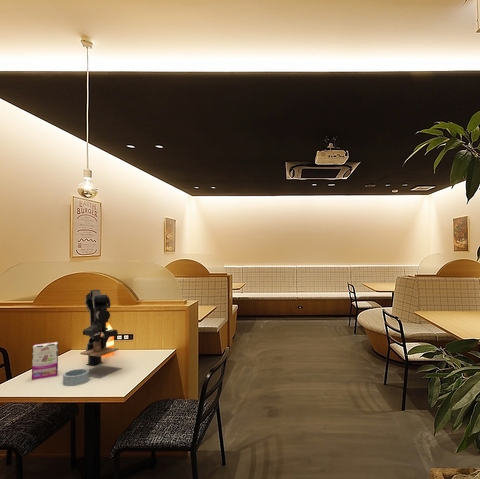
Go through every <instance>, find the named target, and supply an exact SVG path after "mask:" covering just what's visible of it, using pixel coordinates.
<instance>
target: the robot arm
mask: <svg viewBox="0 0 480 479" xmlns="http://www.w3.org/2000/svg"><path fill="white" fill-rule="evenodd" d="M84 305H86V307H85V308H86V309H87V311H88V312H89V326H88V327H86V328H84V329H83V331H82V335H83V336H86V337H89V340H88V341H87V344H86V348H85V351H87V350H90V349H93V342H95V341H98V340H101V349H104V347H105V345H106V343H107V341H108V339H109V337H113V336H114V337H115V336H118V335H119V334H118V330H117V329H113V328H112V329H111V330H108V328H106V323H109V319H110V318H111V313H110V311H109V310H108V309H111V306H112V304H111V300H110V296H109V295H108V294H106V293H104V294H103V293H102V292H101V290H100V289H91V290H89V292H88V294H86V295H85V299H84ZM106 330H107V331H106ZM102 332H103V333H102ZM101 334H102V336H101ZM87 356H88V357H87V364H85V366H92V367H97V366H99V365H101V364H104V362H103V361H102V357H98V356H90V355H87Z"/></svg>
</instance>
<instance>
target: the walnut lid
mask: <svg viewBox="0 0 480 479" xmlns="http://www.w3.org/2000/svg"><path fill="white" fill-rule="evenodd" d="M106 346H107V343H106V345H105V347H104V349H101V340H98V341H95V342H93V349H90V350H87V351H86V350H85V351H82V352H80V355H83V356H88V355H90V356H98V357H101V356H103V355H106V354H109V353H112V352H117V351H119V348H117V347H114V348H109V347H106ZM101 358H102V357H101Z"/></svg>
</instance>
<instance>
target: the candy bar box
mask: <svg viewBox="0 0 480 479" xmlns="http://www.w3.org/2000/svg"><path fill="white" fill-rule="evenodd" d="M31 349H32V351H31V356H32V357H31V360H32V361H31V381H34V380H39V379H44V378H45V379H47V378H53V377H58V373H59V342H58V341H54V342H46V343H39V344H33V346H32V348H31Z"/></svg>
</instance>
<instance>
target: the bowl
mask: <svg viewBox="0 0 480 479" xmlns="http://www.w3.org/2000/svg"><path fill="white" fill-rule="evenodd" d="M88 381H90V377H89V368H88V369H87V368H76V369H71V370H68V371H65V372H64V373H63V374H62V385H63V386H66V387H72V386H73V387H75V386H79V385H83V384H86V383H87V382H88Z"/></svg>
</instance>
